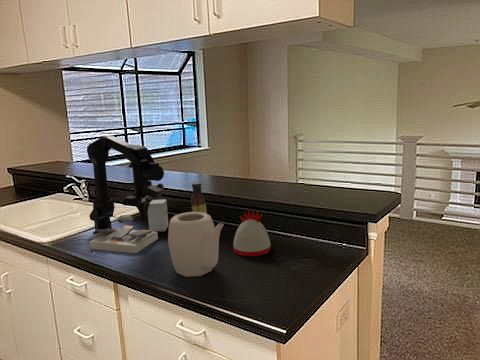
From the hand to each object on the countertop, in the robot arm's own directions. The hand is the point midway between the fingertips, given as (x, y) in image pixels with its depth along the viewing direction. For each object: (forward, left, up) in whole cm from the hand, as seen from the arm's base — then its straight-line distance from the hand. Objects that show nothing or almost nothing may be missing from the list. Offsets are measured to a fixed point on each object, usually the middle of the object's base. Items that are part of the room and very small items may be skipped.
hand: (144, 217), depth 161 cm
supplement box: (-4, +17, -11) cm, 20 cm away
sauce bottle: (+13, +24, -11) cm, 29 cm away
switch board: (-8, -3, -11) cm, 14 cm away
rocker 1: (-16, -3, -6) cm, 18 cm away
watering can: (+32, -21, -11) cm, 40 cm away
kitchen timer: (+44, +3, -11) cm, 45 cm away
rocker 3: (0, -3, -6) cm, 7 cm away
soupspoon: (-35, +28, -11) cm, 46 cm away
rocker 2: (-8, -3, -6) cm, 11 cm away
